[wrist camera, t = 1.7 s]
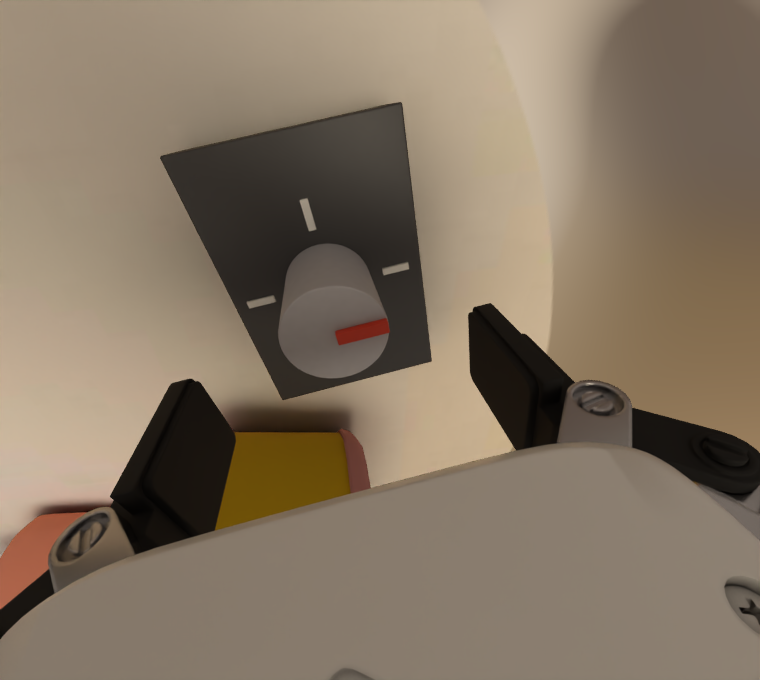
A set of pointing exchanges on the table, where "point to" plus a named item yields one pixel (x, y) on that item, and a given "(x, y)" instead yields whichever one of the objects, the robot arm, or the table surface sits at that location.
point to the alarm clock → (289, 473)
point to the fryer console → (310, 225)
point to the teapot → (30, 553)
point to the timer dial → (331, 313)
